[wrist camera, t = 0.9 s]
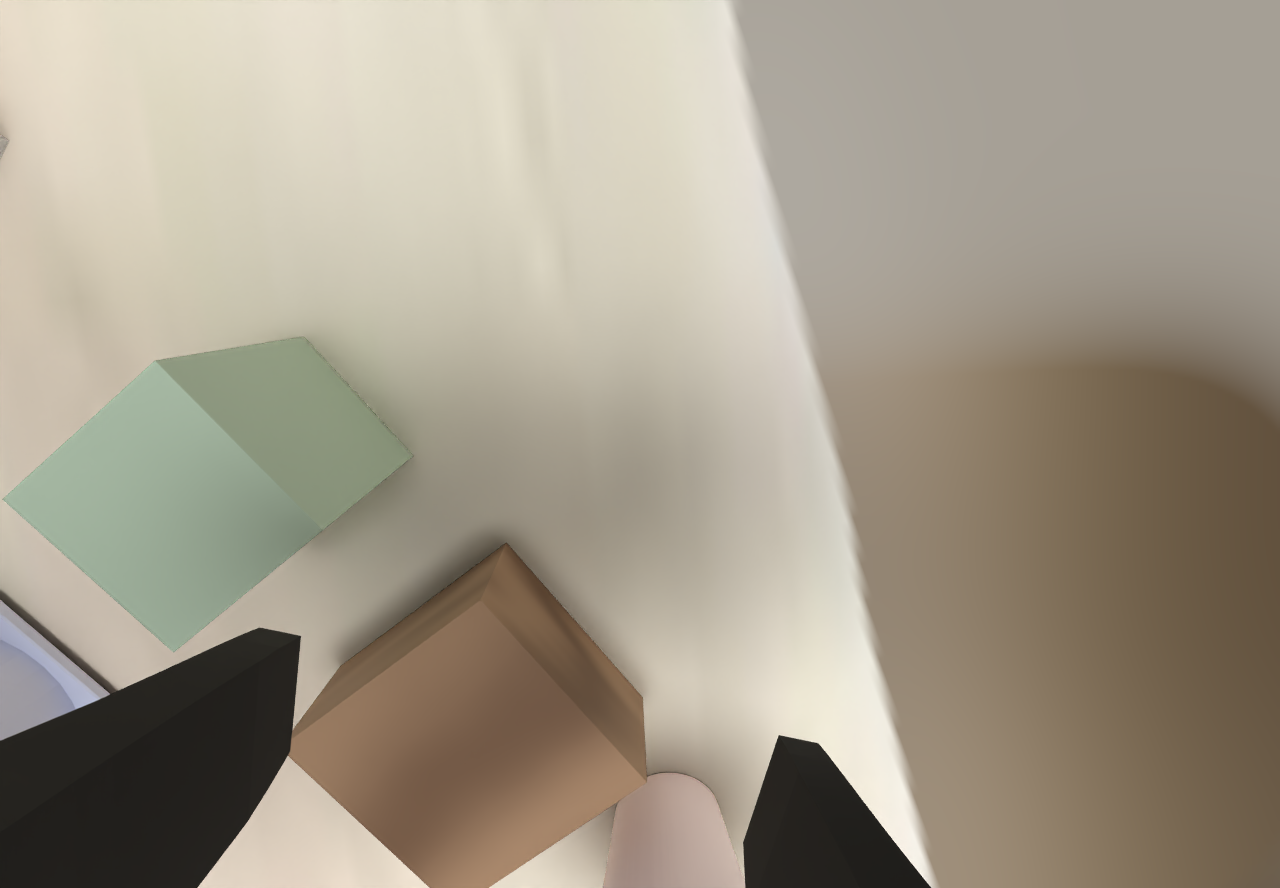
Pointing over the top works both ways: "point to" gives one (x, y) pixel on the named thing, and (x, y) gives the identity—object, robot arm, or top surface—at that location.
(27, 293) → the top surface
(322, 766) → the walnut block
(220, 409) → the sage block
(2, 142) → the grey block
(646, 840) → the smoothie
